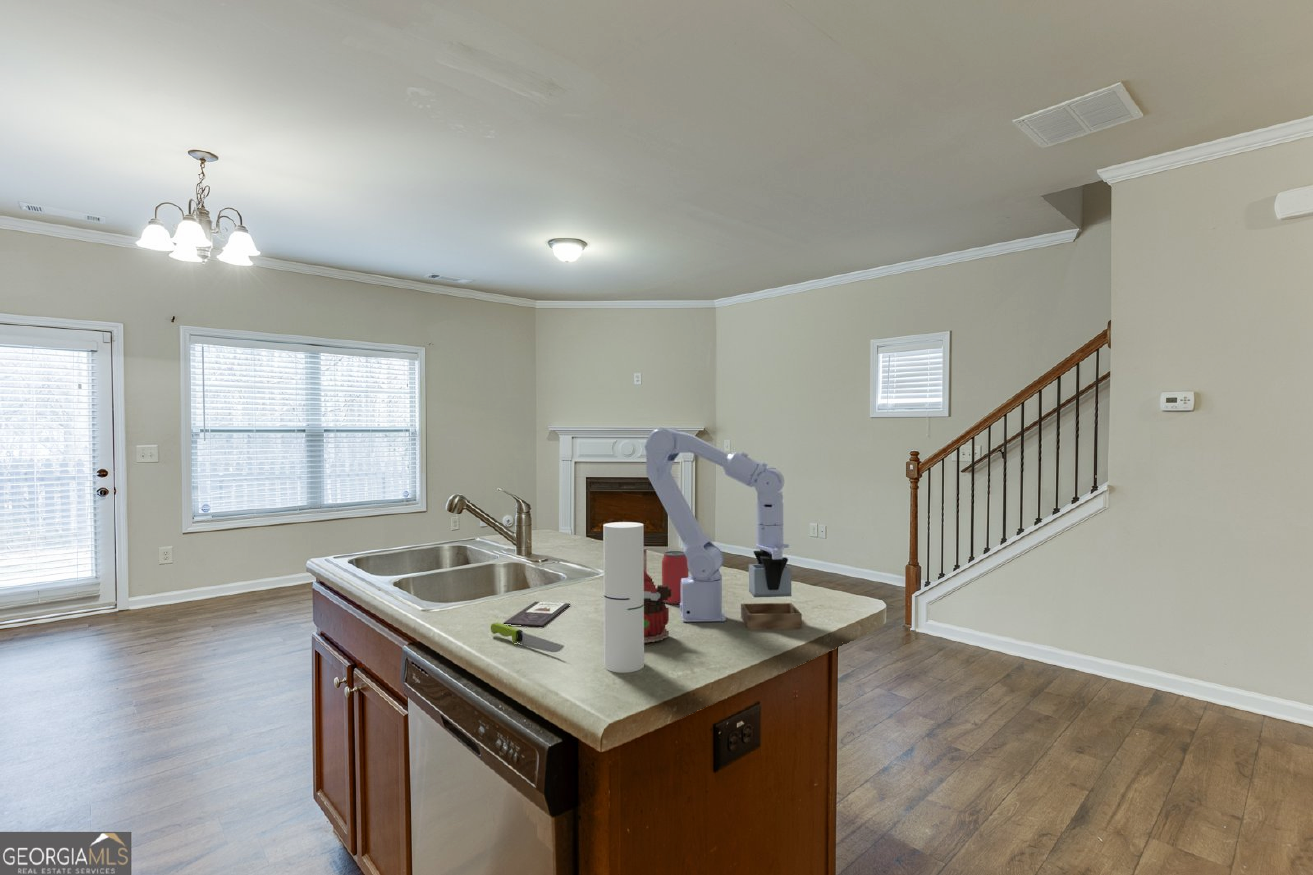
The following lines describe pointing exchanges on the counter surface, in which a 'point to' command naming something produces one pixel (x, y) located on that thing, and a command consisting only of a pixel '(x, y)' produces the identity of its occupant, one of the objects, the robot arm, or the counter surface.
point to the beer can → (674, 574)
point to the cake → (654, 608)
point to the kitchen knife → (525, 638)
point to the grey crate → (760, 584)
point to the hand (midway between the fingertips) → (770, 586)
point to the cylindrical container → (623, 596)
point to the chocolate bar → (537, 614)
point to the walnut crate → (770, 616)
